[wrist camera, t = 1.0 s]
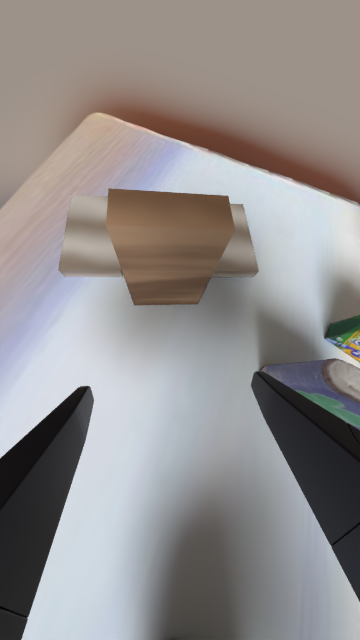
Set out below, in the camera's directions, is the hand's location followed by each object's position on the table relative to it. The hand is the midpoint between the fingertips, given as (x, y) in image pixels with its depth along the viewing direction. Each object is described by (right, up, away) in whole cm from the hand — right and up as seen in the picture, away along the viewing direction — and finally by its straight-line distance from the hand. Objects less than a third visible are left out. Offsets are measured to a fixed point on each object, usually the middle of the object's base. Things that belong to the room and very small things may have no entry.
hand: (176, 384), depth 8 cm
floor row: (-2, +14, +17) cm, 22 cm away
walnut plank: (-2, +7, +14) cm, 16 cm away
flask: (+14, -5, +12) cm, 19 cm away
